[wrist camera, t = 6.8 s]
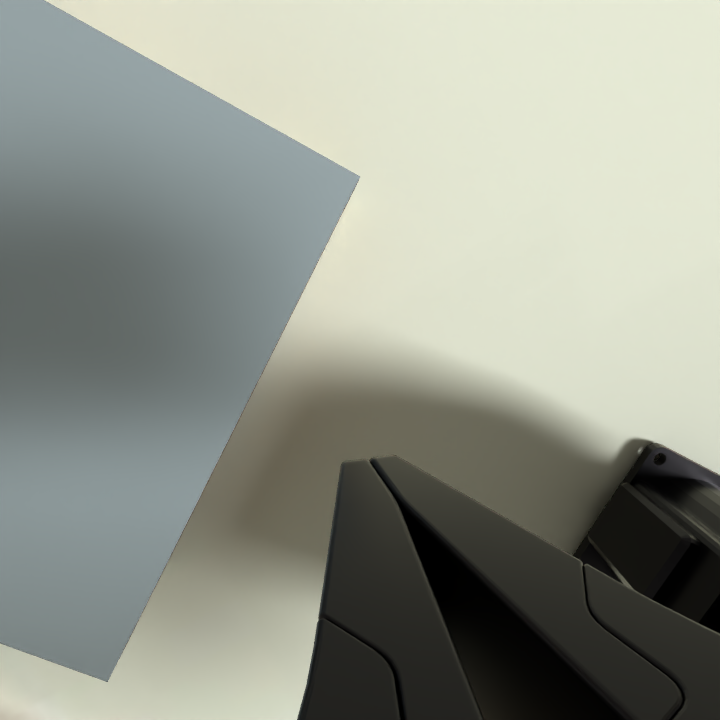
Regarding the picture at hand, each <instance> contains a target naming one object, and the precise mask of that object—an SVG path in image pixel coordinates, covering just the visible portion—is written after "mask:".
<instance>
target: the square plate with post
mask: <svg viewBox="0 0 720 720" xmlns="http://www.w3.org/2000/svg"><path fill="white" fill-rule="evenodd" d="M359 178H360V176H358V175H356V174H355V173H353V172H351V171H349V170H347V169H346V168H344V167H342V166H340V165H338V164H337V163H335V162H333V161H331V160H330V159H328V158H326V157H324V156H322V155H321V154H319V153H317V152H315V151H313V150H312V149H310V148H308V147H306V146H304V145H303V144H301V143H299V142H297V141H295V140H294V139H292V138H290V137H288V136H286V135H285V134H283V133H281V132H279V131H278V130H276V129H274V128H272V127H270V126H269V125H267V124H265V123H263V122H261V121H260V120H258V119H256V118H254V117H252V116H251V115H249V114H247V113H245V112H243V111H242V110H240V109H238V108H236V107H234V106H233V105H231V104H229V103H227V102H226V101H224V100H222V99H220V98H218V97H217V96H215V95H213V94H211V93H209V92H208V91H206V90H204V89H202V88H200V87H199V86H197V85H195V84H193V83H191V82H190V81H188V80H186V79H184V78H182V77H181V76H179V75H177V74H175V73H174V72H172V71H170V70H168V69H166V68H165V67H163V66H161V65H159V64H157V63H156V62H154V61H152V60H150V59H148V58H147V57H145V56H143V55H141V54H139V53H138V52H136V51H134V50H132V49H130V48H129V47H127V46H125V45H123V44H122V43H120V42H118V41H116V40H114V39H113V38H111V37H109V36H107V35H105V34H104V33H102V32H100V31H98V30H96V29H95V28H93V27H91V26H89V25H87V24H86V23H84V22H82V21H80V20H78V19H77V18H75V17H73V16H71V15H70V14H68V13H66V12H64V11H62V10H61V9H59V8H57V7H55V6H53V5H52V4H50V3H48V2H46V1H44V0H0V643H1V644H3V645H6V646H9V647H12V648H15V649H17V650H20V651H23V652H26V653H28V654H31V655H34V656H37V657H40V658H42V659H45V660H48V661H51V662H53V663H56V664H59V665H62V666H65V667H67V668H70V669H73V670H76V671H78V672H81V673H84V674H87V675H90V676H92V677H95V678H98V679H101V680H103V681H106V682H108V680H109V678H110V676H111V674H112V672H113V670H114V668H115V666H116V664H117V662H118V660H119V658H120V656H121V654H122V652H123V650H124V648H125V646H126V644H127V642H128V640H129V638H130V636H131V634H132V632H133V630H134V628H135V626H136V624H137V622H138V620H139V618H140V616H141V614H142V612H143V610H144V608H145V606H146V604H147V602H148V600H149V598H150V596H151V594H152V592H153V590H154V588H155V586H156V584H157V582H158V580H159V578H160V576H161V574H162V572H163V570H164V568H165V566H166V564H167V562H168V560H169V558H170V556H171V554H172V552H173V550H174V548H175V546H176V544H177V542H178V540H179V538H180V536H181V534H182V532H183V530H184V528H185V526H186V524H187V522H188V520H189V518H190V516H191V514H192V512H193V510H194V508H195V506H196V504H197V502H198V500H199V498H200V496H201V494H202V492H203V490H204V488H205V486H206V484H207V482H208V480H209V478H210V476H211V474H212V472H213V470H214V468H215V466H216V464H217V462H218V460H219V458H220V456H221V454H222V452H223V450H224V448H225V446H226V444H227V442H228V440H229V438H230V436H231V434H232V432H233V430H234V428H235V426H236V424H237V422H238V420H239V418H240V416H241V414H242V412H243V410H244V408H245V406H246V404H247V402H248V400H249V398H250V396H251V394H252V392H253V390H254V388H255V386H256V384H257V382H258V380H259V378H260V376H261V374H262V372H263V370H264V368H265V366H266V364H267V362H268V360H269V358H270V356H271V354H272V352H273V350H274V348H275V346H276V344H277V342H278V340H279V338H280V336H281V334H282V332H283V330H284V328H285V326H286V324H287V322H288V320H289V318H290V316H291V314H292V312H293V310H294V308H295V306H296V304H297V302H298V300H299V298H300V296H301V294H302V292H303V290H304V288H305V286H306V284H307V282H308V280H309V278H310V276H311V274H312V272H313V270H314V268H315V266H316V264H317V262H318V260H319V258H320V256H321V254H322V252H323V250H324V248H325V246H326V244H327V242H328V240H329V238H330V236H331V234H332V232H333V230H334V228H335V226H336V224H337V222H338V220H339V218H340V216H341V214H342V212H343V210H344V208H345V206H346V204H347V202H348V200H349V198H350V196H351V194H352V192H353V190H354V188H355V186H356V184H357V182H358V180H359Z"/></svg>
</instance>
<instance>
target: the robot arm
mask: <svg viewBox="0 0 720 720" xmlns="http://www.w3.org/2000/svg"><path fill="white" fill-rule="evenodd" d="M659 453H660V457H659V458H658V459H657V460H655V461H654V460H653V459H654V457H655V456H656V455H657V454H659ZM318 618H319V621H318V622H317V628H316V635H315V642H314V648H313V654H312V659H311V664H310V669H309V674H308V680H307V685H306V689H305V693H304V696H303V700H302V704H301V707H300V711H299V715H298V718H297V720H720V475H719V474H717V473H715V472H713V471H711V470H709V469H707V468H705V467H703V466H702V465H700V464H698V463H696V462H694V461H692V460H690V459H688V458H686V457H684V456H682V455H680V454H678V453H677V452H675V451H673V450H671V449H669V448H667V447H665V446H663V445H661V444H658V443H655V444H651V445H649V446H647V447H646V448H645V449H644V450H643V452H642V453H641V455H640V456H639V458H638V459H637V461H636V462H635V464H634V465H633V467H632V468H631V470H630V471H629V473H628V474H627V476H626V477H625V479H624V480H623V482H622V483H621V485H620V486H619V487H618V489H617V490H616V492H615V493H614V495H613V496H612V498H611V499H610V501H609V502H608V504H607V505H606V507H605V508H604V510H603V511H602V513H601V514H600V516H599V517H598V519H597V520H596V522H595V523H594V525H593V526H592V528H591V529H590V531H589V532H588V534H587V536H586V537H585V539H584V540H583V542H582V543H581V545H580V546H579V548H578V549H577V551H576V552H575V554H574V555H573V556H572V555H570V554H568V553H567V552H565V551H563V550H561V549H560V548H558V547H556V546H554V545H553V544H551V543H549V542H547V541H546V540H544V539H542V538H540V537H539V536H537V535H535V534H533V533H531V532H530V531H528V530H526V529H524V528H523V527H521V526H519V525H517V524H516V523H514V522H512V521H510V520H509V519H507V518H505V517H503V516H502V515H500V514H498V513H496V512H495V511H493V510H491V509H489V508H488V507H486V506H484V505H482V504H481V503H479V502H477V501H475V500H473V499H472V498H470V497H468V496H466V495H465V494H463V493H461V492H459V491H458V490H456V489H454V488H452V487H451V486H449V485H447V484H445V483H444V482H442V481H440V480H438V479H437V478H435V477H433V476H431V475H430V474H428V473H426V472H424V471H423V470H421V469H419V468H417V467H415V466H414V465H412V464H410V463H408V462H407V461H405V460H403V459H401V458H400V457H398V456H396V455H388V456H381V457H374V458H371V459H370V460H369V461H368V460H367V459H359V460H352V461H345V462H343V463H342V464H341V468H340V475H339V482H338V488H337V495H336V502H335V509H334V515H333V522H332V529H331V536H330V543H329V549H328V556H327V563H326V570H325V576H324V583H323V590H322V597H321V603H320V610H319V617H318Z"/></svg>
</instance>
